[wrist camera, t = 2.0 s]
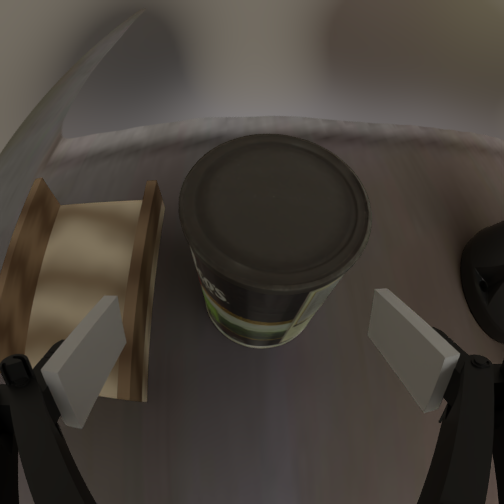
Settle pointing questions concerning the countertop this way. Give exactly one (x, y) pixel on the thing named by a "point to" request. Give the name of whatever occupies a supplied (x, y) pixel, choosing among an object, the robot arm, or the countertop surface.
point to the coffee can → (271, 233)
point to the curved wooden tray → (82, 278)
